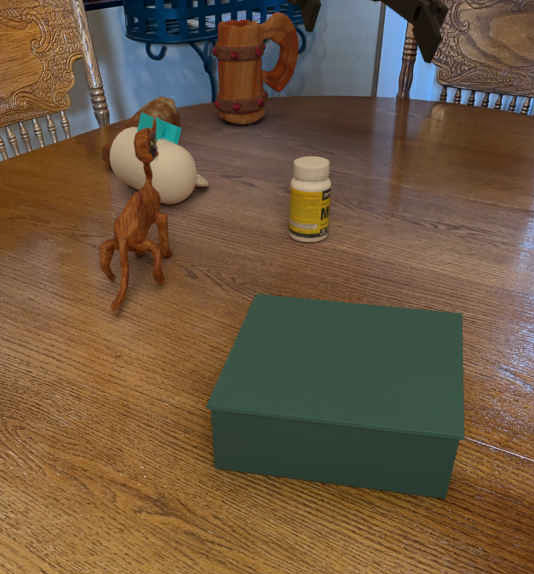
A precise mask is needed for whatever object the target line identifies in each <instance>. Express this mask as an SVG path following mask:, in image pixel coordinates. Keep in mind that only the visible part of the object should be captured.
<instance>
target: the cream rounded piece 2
mask: <svg viewBox="0 0 534 574" xmlns="http://www.w3.org/2000/svg"><path fill="white" fill-rule="evenodd" d="M153 119H154V117H151V116H149V115H147V114H145V113H142V112H141V116H140V120H139V124H138V127H131V128H127V129H125V130H123V131H122V132H121V133H119V134H118V135H117V137H116V138H115V140H114V141H113V144H112V147H111V149H110V163H111V167H110V168H111V170H112V172H113V174H114V175H115V176H116V178H117V179H119V181H120V182H122V183H124V184H125V185H128V186H130V187H132V188H133V189H135V190H137V191H139V190H140V189H141V188H142V187H143V186H144V184H145V181H146V176H145V172H144V168H143V166H144V164H143V162H141V161H139V160H138V158H137V157H136V155H135V148H134V138H135V134H136V133H137V132H138V131H139V130H141V129H144V128H147V127H148V128H152V126H153ZM155 119H156V139H157V142H156V145H157V151H158V153H159V154H158V159H157V161H156V160H153V162H151V163H150V167H151V170H152V174H153V177H152V186H153V187H154V188H155V189H156V190H157V191H158V192H159V194H160V198H161V200H160V204H161V203H162V204H164V205H176V204H179V203H181V202H183V201H185V200H186V199H187V198H188V197H190V196H191V194H192V193H193V191H194V189H195V187H196V188H207V187H208V186H209V182H208V180H207V179H206V178H205V177H203V176H202V175H200V174H199V173H198V170H197V169H198V168H197V165H196V162H195V159H194V158H193V156H192V155H191V153H190V152H189V151H188V150H187V149H185V148H184V147H183V146H182V145H179V140H180V136H181V134H182V127H180V126H179V127H178V126H175V125H172V124H170V123H167V122H165V121H162V120H161V119H160V118H155Z"/></svg>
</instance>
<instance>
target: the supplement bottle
mask: <svg viewBox="0 0 534 574" xmlns="http://www.w3.org/2000/svg"><path fill="white" fill-rule="evenodd" d="M329 176H330V160H329V159H327V158H325V157H322V156H317V155H316V156H313V155H308V156H301V157H298V158H296V159H294V161H293V177H292V178H291V180H290V182H289V217H288V234H289V236H290V238H292V239H293V240H295V241H297V242H302V243H317V242H321V241H323V240H325V239H327V238H328V235H329V230H330V212H331V198H332V197H331V196H332V181H331V179H330V177H329Z"/></svg>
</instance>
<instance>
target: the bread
mask: <svg viewBox="0 0 534 574" xmlns="http://www.w3.org/2000/svg"><path fill="white" fill-rule="evenodd" d="M141 112H142V113H145V114H147V115H149V116H151V117H154V118H160V119H161V120H162V121H165V122H167V123H170V124H172V125H175V126H178V127H180V124H181V116H180V113H179V111H178V108H177V107H176V101H175V100H174V99H172V98H171V97H167V96H158V97H156V98H153V99H152V100H151V101H148V102H147V103H145V104H144V105H143V106H142V107H141V108H140V109H139V110H137V111H136V112H135V113H134V114H133V115H132V116H131V117H130V118H129V119H127V120H126V121H125V123H124V124H123V125H122V126H121V127H119V129H118V130H117V131H116V132H115V133H114V134H113V135H112V136H111V138H109V139H108V140H107V142H105V144H104V145H103V146H102V149H101V158H102V161H104V163H105V164H106V165H107V166H108V167H110V168H111V163H110V149H111V147H112V144H113V141H114V140H115V138H116V137H117V135H118V134H119V133H121V132H122V131H123V130H125V129H127V128H131V127H138V124H139V120H140V116H141Z"/></svg>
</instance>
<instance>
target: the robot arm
mask: <svg viewBox="0 0 534 574" xmlns="http://www.w3.org/2000/svg"><path fill="white" fill-rule="evenodd" d="M285 1H286V2H287V3H289V4H292V5H294V6H297V7H299V10H300V14H301V19H302V22H303V25H304V27H303V28H304V30H305V32H307V33H311V34H313V32H314V29H315V26H316V23H317V20H318V16H319V14H320V11H321V7H322V2H321V0H285ZM371 1H372V2H374V3H379V2H381V3H382V4H384V5H385V6H387V7H388V8H389V9H391V10H392V11H393V12H395V13H396V15H398V16H400V17H401V18H402V19H404V20H405V21H406V22H408V23H409V24H410V25H412V26H413V27H412V28H411V32H412V35H413V37H414V40H415V42H416V44H417V47H418V50H419V52H420V55H421V57H422V60H423V62H424V63H427V64H432V61H433V59H434V58H435V54H436V53H437V51H438V49H439V47H440V45H441V42H442V40H443V35H442V33H441V30H442V26H443V24H444V22H445V20H446V18H447V15H448V13H449V11H450V8H449V6H447V5H446V4H445V3H444V2H443V1H442V0H371Z"/></svg>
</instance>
